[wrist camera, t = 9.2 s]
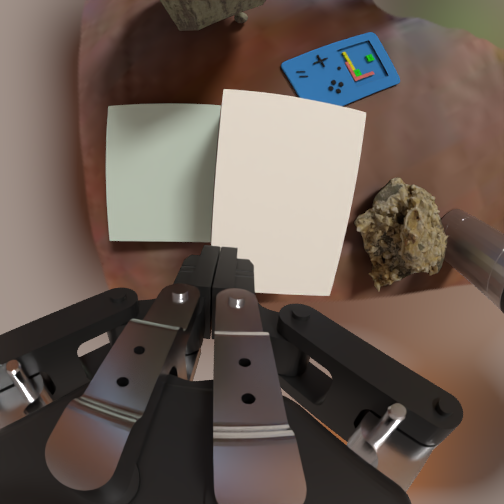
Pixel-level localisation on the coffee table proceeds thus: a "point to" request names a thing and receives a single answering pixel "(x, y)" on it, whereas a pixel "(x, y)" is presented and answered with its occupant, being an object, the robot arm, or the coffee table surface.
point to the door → (161, 171)
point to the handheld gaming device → (342, 71)
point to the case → (286, 187)
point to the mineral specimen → (402, 233)
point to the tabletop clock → (207, 11)
